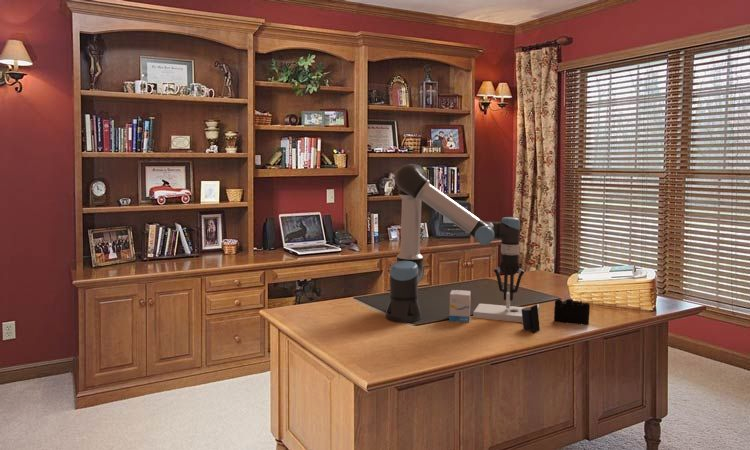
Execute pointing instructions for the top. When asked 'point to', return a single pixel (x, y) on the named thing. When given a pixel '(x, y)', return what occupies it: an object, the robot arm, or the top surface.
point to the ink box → (459, 306)
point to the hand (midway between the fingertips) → (508, 307)
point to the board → (499, 312)
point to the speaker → (530, 318)
